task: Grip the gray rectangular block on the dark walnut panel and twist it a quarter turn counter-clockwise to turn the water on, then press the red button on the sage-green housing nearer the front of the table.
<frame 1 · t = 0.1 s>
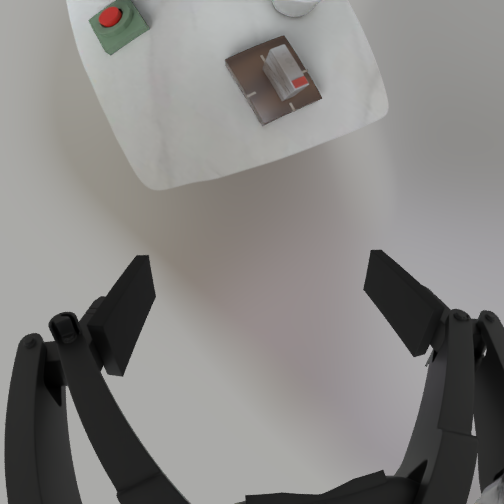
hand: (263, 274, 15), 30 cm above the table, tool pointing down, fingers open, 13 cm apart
button box: (119, 25, 29), on the table
button: (110, 16, 25), point 4 cm above the table, slide at 0.1 cm
tap panel: (271, 81, 36), on the table
cup: (295, 1, 30), on the table
gray rectangular block: (283, 74, 29), point 8 cm above the table, hinge at 0.0°
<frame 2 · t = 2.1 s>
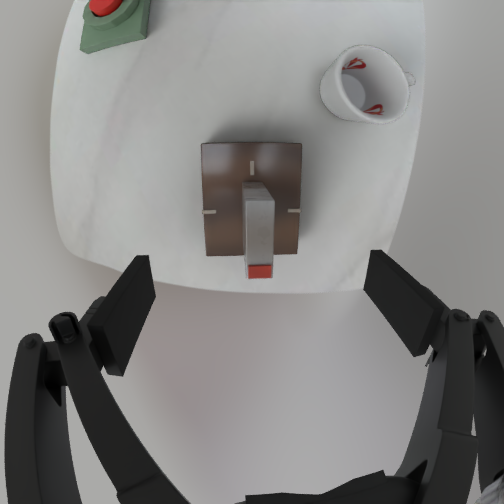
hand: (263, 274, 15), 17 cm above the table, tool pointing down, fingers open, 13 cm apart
button box: (119, 14, 19), on the table
button: (106, 1, 15), point 4 cm above the table, slide at 0.1 cm
tap panel: (250, 195, 30), on the table
cup: (353, 92, 26), on the table
gray rectangular block: (255, 223, 23), point 8 cm above the table, hinge at 0.0°
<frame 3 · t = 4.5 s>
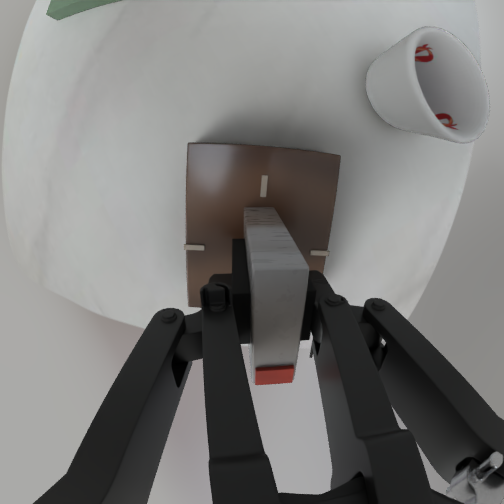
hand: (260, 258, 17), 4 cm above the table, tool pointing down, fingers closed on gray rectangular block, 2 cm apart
tap panel: (256, 223, 21), on the table
cup: (404, 92, 17), on the table
gray rectangular block: (265, 282, 14), point 8 cm above the table, hinge at 4.0°, touching gripper
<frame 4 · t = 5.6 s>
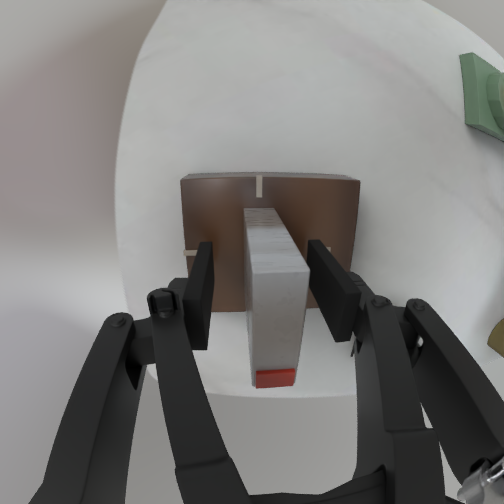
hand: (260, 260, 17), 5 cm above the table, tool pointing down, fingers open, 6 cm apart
button box: (488, 101, 17), on the table
pepper shaker: (497, 331, 31), on the table
tap panel: (268, 236, 21), on the table
gray rectangular block: (266, 284, 14), point 8 cm above the table, hinge at 90.0°
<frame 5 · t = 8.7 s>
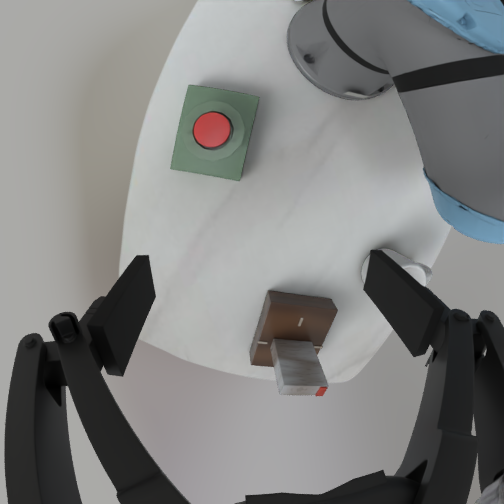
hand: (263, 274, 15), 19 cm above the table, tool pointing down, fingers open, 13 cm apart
button box: (214, 132, 29), on the table
button: (212, 130, 25), point 4 cm above the table, slide at 0.1 cm
tap panel: (289, 327, 40), on the table
cup: (384, 263, 38), on the table
gray rectangular block: (297, 366, 34), point 8 cm above the table, hinge at 90.0°
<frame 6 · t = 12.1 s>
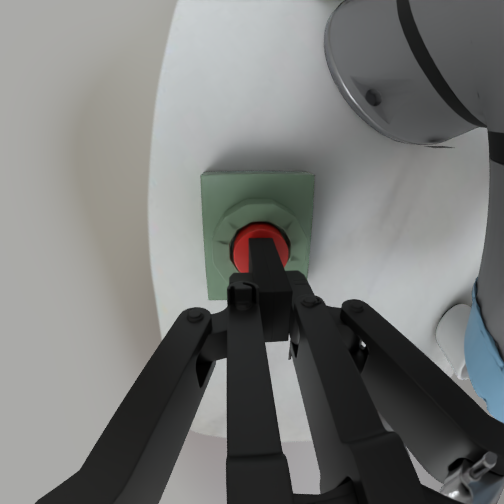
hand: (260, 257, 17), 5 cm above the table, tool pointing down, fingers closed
button box: (255, 232, 22), on the table
button: (260, 250, 18), point 4 cm above the table, slide at -0.4 cm, touching gripper
cup: (456, 315, 28), on the table
gray rectangular block: (378, 441, 26), point 8 cm above the table, hinge at 90.0°
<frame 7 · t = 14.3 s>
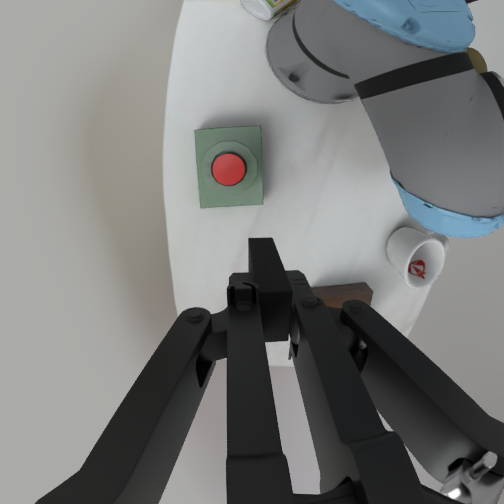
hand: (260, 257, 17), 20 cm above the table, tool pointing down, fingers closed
button box: (229, 165, 34), on the table
pepper shaker: (435, 70, 28), on the table
button: (228, 168, 30), point 4 cm above the table, slide at 0.1 cm
tap panel: (334, 315, 44), on the table
cup: (405, 240, 40), on the table
gray rectangular block: (348, 348, 38), point 8 cm above the table, hinge at 90.0°
supplement bottle: (253, 8, 23), point 3 cm above the table
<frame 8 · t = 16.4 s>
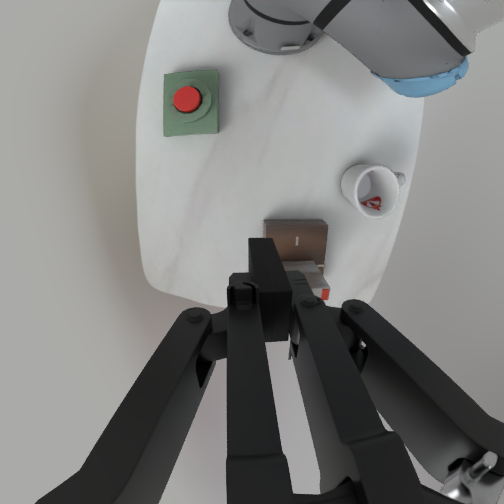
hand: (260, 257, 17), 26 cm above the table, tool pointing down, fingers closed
button box: (192, 103, 36), on the table
button: (187, 99, 32), point 4 cm above the table, slide at 0.1 cm
tap panel: (292, 253, 46), on the table
cup: (362, 180, 42), on the table
gray rectangular block: (301, 279, 40), point 8 cm above the table, hinge at 90.0°
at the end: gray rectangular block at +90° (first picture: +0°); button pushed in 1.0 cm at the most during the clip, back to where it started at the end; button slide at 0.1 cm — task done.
